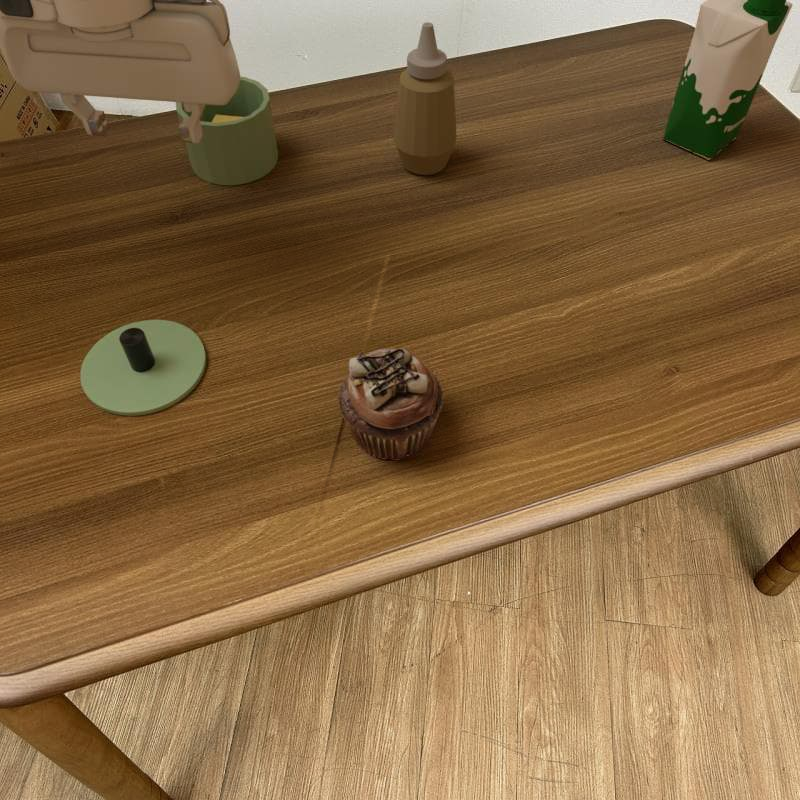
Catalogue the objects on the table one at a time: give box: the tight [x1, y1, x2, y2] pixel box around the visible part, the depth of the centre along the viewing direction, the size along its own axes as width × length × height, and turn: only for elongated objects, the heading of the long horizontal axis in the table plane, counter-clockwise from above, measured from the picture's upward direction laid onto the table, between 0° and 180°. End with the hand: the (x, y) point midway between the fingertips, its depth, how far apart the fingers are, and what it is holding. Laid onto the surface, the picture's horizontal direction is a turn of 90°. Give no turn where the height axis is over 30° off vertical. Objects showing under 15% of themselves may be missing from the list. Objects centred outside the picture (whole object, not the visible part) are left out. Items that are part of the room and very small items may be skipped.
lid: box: [79, 319, 207, 417], centre depth 74 cm, size 12×12×5 cm
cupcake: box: [337, 348, 445, 461], centre depth 68 cm, size 10×10×10 cm
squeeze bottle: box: [393, 21, 458, 176], centre depth 91 cm, size 8×8×18 cm
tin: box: [175, 76, 279, 186], centre depth 95 cm, size 11×11×8 cm
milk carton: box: [662, 0, 794, 158], centre depth 93 cm, size 9×9×20 cm
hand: (145, 135), depth 71 cm, fingers open, 8 cm apart
